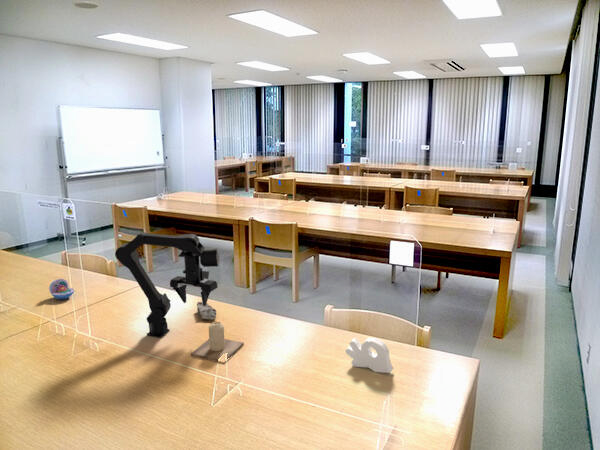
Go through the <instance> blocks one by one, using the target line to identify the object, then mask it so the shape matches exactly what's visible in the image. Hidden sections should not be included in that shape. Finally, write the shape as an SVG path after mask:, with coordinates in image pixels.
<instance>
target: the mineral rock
mask: <svg viewBox="0 0 600 450" xmlns="http://www.w3.org/2000/svg"><path fill="white" fill-rule="evenodd" d="M196 306H197V308H196V311H197V316H198V318H200V319H204V320H215V319H216V318H217V310H216V309H215V308H214V307H213V306H211V305H210V304H208V302H207V303H206V306H203V302H202V301H198V302H197V303H196Z"/></svg>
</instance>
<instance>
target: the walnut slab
mask: <svg viewBox="0 0 600 450" xmlns="http://www.w3.org/2000/svg"><path fill="white" fill-rule="evenodd" d="M224 339H225V348H224V349H223V350H221V351H212V350H210V344H209V338H208V339H207V340H206V341H204V342H203V343H202V344H200V345H199V346H198V347H197V348H196V349H195V350H194V351H192V352H191V353H190V357H194V358H199V359H202V360H203V359H204V360H209V361H212V362H213V361H214V362H218V359H219V358H220V357H221V356H222V355H223V354H225V353H228V354H227V359H228V358H230V357H231V356H232V357H233V356H234V355H235V354H236V353H237V352H238V351H239V350H240V349H242V347H243V346H244V342H242V341H238V340H234V339H233V340H231V339H226V338H224ZM232 357H231V358H232ZM231 358H230V359H231Z"/></svg>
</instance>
